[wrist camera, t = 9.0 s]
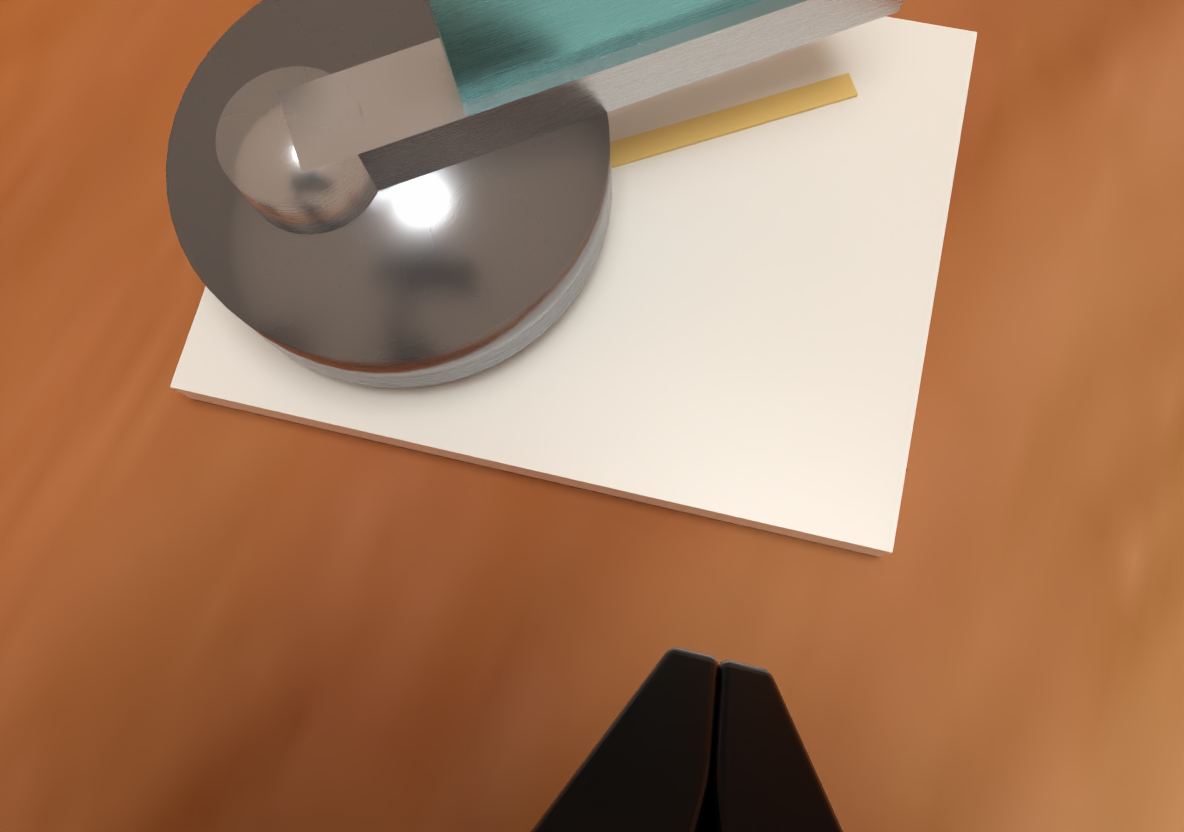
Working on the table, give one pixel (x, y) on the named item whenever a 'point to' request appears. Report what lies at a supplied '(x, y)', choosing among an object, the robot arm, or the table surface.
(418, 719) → the table surface
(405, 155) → the cam foot
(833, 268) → the plate
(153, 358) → the table surface
